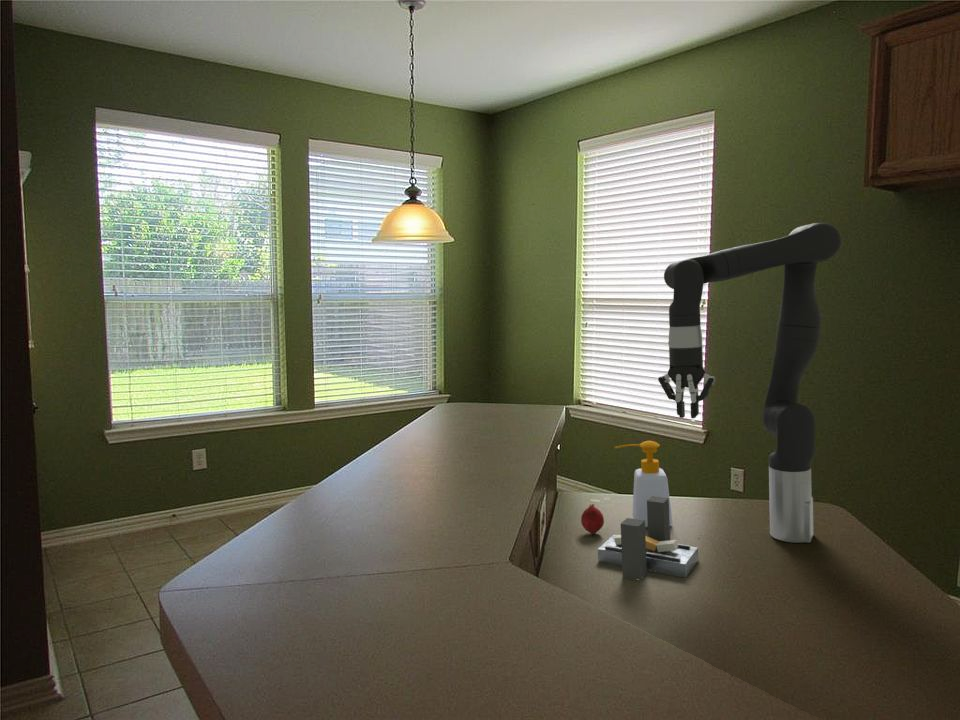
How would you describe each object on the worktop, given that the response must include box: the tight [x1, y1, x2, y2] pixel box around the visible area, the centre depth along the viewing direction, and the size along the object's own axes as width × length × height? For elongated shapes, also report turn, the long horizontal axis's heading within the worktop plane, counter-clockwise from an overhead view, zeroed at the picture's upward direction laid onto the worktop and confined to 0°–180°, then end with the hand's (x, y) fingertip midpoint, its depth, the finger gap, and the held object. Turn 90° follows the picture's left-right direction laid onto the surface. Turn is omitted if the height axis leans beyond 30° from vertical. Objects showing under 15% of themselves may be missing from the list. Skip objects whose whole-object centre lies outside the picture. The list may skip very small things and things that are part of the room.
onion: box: [580, 503, 605, 535], centre depth 165 cm, size 6×6×8 cm
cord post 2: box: [647, 496, 671, 541], centre depth 153 cm, size 4×4×12 cm
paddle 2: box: [656, 539, 679, 552], centre depth 144 cm, size 4×2×2 cm, turn 56°
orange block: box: [645, 535, 659, 551], centre depth 146 cm, size 4×2×2 cm, turn 57°
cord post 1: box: [620, 517, 648, 581], centre depth 139 cm, size 4×4×12 cm
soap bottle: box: [614, 440, 673, 528], centre depth 170 cm, size 10×14×22 cm
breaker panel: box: [597, 533, 699, 578], centre depth 147 cm, size 20×10×4 cm, turn 57°
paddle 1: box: [614, 534, 621, 545], centre depth 150 cm, size 4×2×2 cm, turn 56°
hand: (687, 417), depth 153 cm, fingers closed
